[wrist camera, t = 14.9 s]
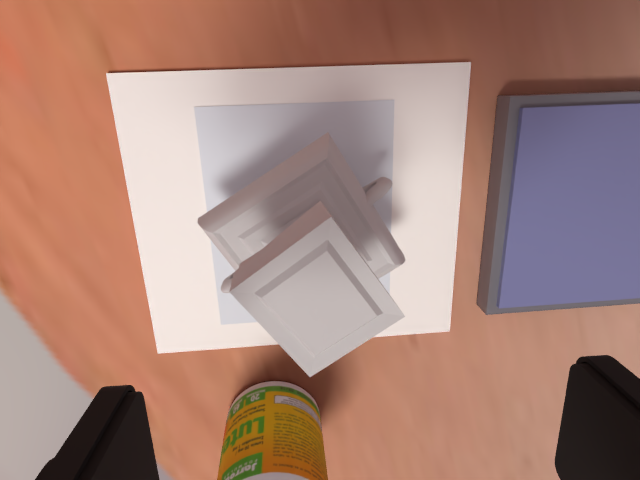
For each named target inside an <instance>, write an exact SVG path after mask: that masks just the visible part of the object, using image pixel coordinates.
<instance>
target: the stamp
mask: <svg viewBox="0 0 640 480" xmlns="http://www.w3.org/2000/svg"><path fill="white" fill-rule="evenodd" d="M391 187H392V181H391V180H390V179H388V178H386V177H380V178H378V179H376V180H374V181H373V182H371V183H370V184H368V185H366V186H364V187H362V186H361V185H360V183H359V181H358V180H357V178H356V176H355V175H354V173H353V172H352V170H351V168H350V167H349V165H348V163H347V162H346V160H345V159H344V157H343V155H342V154H341V152H340V150H339V149H338V147H337V146H336V144H335V142H334V141H333V139H332V137H331V136H330V134H329V133H328V132H327V133H326V134H324V135H323V136H321V137H320V138H318V139H317V140H315V141H314V142H312V143H311V144H309V145H308V146H306V147H305V148H303V149H302V150H300V151H299V152H297V153H296V154H294V155H293V156H291V157H290V158H288V159H287V160H285V161H284V162H282V163H280V164H279V165H277V166H276V167H274V168H273V169H271V170H270V171H268V172H267V173H265V174H264V175H262V176H261V177H259V178H258V179H256V180H255V181H253V182H252V183H250V184H249V185H247V186H246V187H244V188H243V189H241V190H240V191H238V192H237V193H235V194H234V195H232V196H231V197H229V198H228V199H226V200H225V201H223V202H222V203H220V204H219V205H217V206H216V207H214V208H213V209H211V210H210V211H208V212H207V213H205V214H204V215H202V216H201V217H199V218H198V224H199V226H200V227H201V228H202V229H203V231H204V232H205V233H206V234H207V236H208V237H209V238H210V239H211V241H212V242H213V243H214V245H215V246H216V247H217V248H218V250H219V251H220V252H221V253H222V255H223V256H224V257H225V258H226V260H227V261H228V262H229V263H230V265H231V266H232V267H233V268H234V270H235V272H234V273H232V274H231V275H229V276H228V277H227V278H225V279H224V281H223V283H222V285H221V291H222V292H223V293H231V294H232V295H233V296H234V297H235V299H236V300H237V301H238V302H239V303H240V304H241V305H242V306H243V307H244V308H245V309H246V310H247V311H248V312H249V313H250V314H251V315H252V316H253V318H254V319H255V320H256V321H257V322H258V323H259V324H260V325H261V326H262V327H263V328H264V329H265V330H266V331H267V332H268V333H269V334H270V336H271V337H272V338H273V339H274V340H275V341H276V342H277V343H278V344H279V345H280V346H281V347H282V348H283V349H284V350H285V351H286V352H287V354H288V355H289V356H290V357H291V358H292V359H293V360H294V361H295V362H296V363H297V364H298V365H299V366H300V367H301V368H302V369H303V370H304V372H305V373H306V374H307V375H308V376H309V377H311V376H313V375H315V374H316V373H318V372H319V371H321V370H322V369H324V368H325V367H327V366H329V365H330V364H332V363H333V362H335V361H336V360H338V359H340V358H341V357H343V356H344V355H346V354H347V353H349V352H350V351H352V350H354V349H355V348H357V347H358V346H360V345H361V344H363V343H365V342H366V341H368V340H369V339H371V338H372V337H374V336H376V335H377V334H379V333H380V332H382V331H383V330H385V329H386V328H388V327H390V326H391V325H393V324H394V323H396V322H397V321H399V320H401V319H402V318H404V317H405V316H404V314H403V313H402V311H401V310H400V308H399V307H398V306H397V304H396V303H395V301H394V300H393V299H392V297H391V296H390V294H389V293H388V292H387V290H386V289H385V288H384V286H383V285H382V284H381V282H380V281H379V280H378V279H379V278H381V277H382V276H384V275H386V274H387V273H389V272H391V271H392V270H394V269H395V268H397V267H399V266H400V265H402V264H403V263H404V262H405V257H404V254H403V253H402V251H401V249H400V248H399V246H398V245H397V243H396V241H395V240H394V238H393V236H392V235H391V233H390V232H389V230H388V228H387V227H386V225H385V223H384V222H383V220H382V219H381V217H380V215H379V214H378V212H377V210H376V209H375V207H374V206H373V204H374V203H375V202H376V201H378V200H379V199H381V198H382V197H383V196H384V195H385V194H386V193H387V192H388V191H389V190H390V188H391Z"/></svg>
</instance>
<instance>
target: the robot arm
mask: <svg viewBox="0 0 640 480" xmlns="http://www.w3.org/2000/svg"><path fill="white" fill-rule="evenodd" d="M555 467H556V471H557V473H558V476H559V478H560V479H561V480H640V379H639V378H638V377H637V376H635V375H634V374H633V373H632V372H630V371H629V370H628V369H627V368H625V367H624V366H623V365H622V364H620V363H619V362H618V361H617V360H616V359H614V358H613V357H611V356H608V355H601V356H585V357H580V358H579V359H578V360H577V362H576V364H573V365H572V366H571V368H570V371H569V377H568V383H567V389H566V396H565V402H564V408H563V414H562V420H561V426H560V432H559V438H558V444H557V450H556V456H555ZM35 480H159V475H158V470H157V465H156V459H155V454H154V449H153V443H152V438H151V433H150V427H149V422H148V417H147V411H146V406H145V401H144V396H143V394H142V392H135V389H134V387H133V386H131V385H123V386H107V387H103V388H101V389H100V390H99V392H98V393H97V395H96V396H95V398H94V399H93V401H92V402H91V404H90V406H89V407H88V409H87V410H86V411H85V413H84V414H83V416H82V417H81V419H80V420H79V422H78V423H77V425H76V426H75V428H74V429H73V431H72V432H71V434H70V435H69V437H68V438H67V440H66V441H65V443H64V444H63V446H62V447H61V449H60V450H59V452H58V453H57V455H56V456H55V458H53V459H52V460H50V461H49V462H48V463H47V464H46V465H45V466H44V468H43V469H42V470H41V472H40V473H39V475H38V476H37V478H36V479H35Z"/></svg>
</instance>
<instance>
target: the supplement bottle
mask: <svg viewBox="0 0 640 480" xmlns="http://www.w3.org/2000/svg"><path fill="white" fill-rule="evenodd" d="M217 480H328V476H327V469H326V461H325V453H324V445H323V436H322V427H321V419H320V413H319V409H318V406H317V404H316V402H315V400H314V399H313V397H312V396H311V395H310V394H309V393H308V392H306V391H305V390H304V389H302V388H301V387H299V386H297V385H294V384H291V383H288V382H282V381H269V382H263V383H259V384H256V385H254V386H251V387H249V388H248V389H246V390H245V391H243V392H242V393H241V394H240V395H239V396H238V397H237V398H236V399H235V400H234V402H233V403H232V405H231V407H230V409H229V412H228V416H227V421H226V427H225V433H224V439H223V446H222V452H221V459H220V465H219V471H218V478H217Z"/></svg>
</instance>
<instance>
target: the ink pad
mask: <svg viewBox="0 0 640 480" xmlns="http://www.w3.org/2000/svg"><path fill="white" fill-rule="evenodd" d="M638 303H640V90H637V91H610V92H583V93H556V94H528V95H501V96H498V98H497V107H496V117H495V127H494V137H493V147H492V157H491V167H490V176H489V186H488V196H487V206H486V216H485V226H484V236H483V245H482V255H481V265H480V275H479V285H478V295H477V305H478V306H479V307H480V308H481V309H482V311H483V312H484V313H485V314H486V315H488V314H502V313H516V312H529V311H543V310H556V309H570V308H583V307H597V306H611V305H624V304H638Z"/></svg>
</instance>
